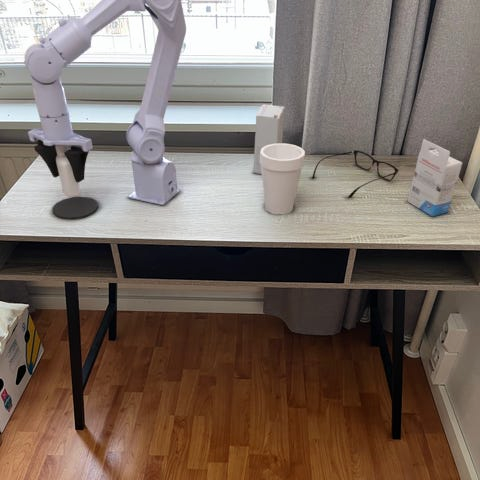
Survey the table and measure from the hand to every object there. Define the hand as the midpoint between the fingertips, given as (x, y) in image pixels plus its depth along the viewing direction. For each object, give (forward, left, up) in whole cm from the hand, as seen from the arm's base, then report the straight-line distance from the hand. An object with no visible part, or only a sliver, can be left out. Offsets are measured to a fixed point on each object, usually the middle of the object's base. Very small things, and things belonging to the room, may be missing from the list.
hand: (68, 178), depth 108 cm
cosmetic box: (-32, -38, -8) cm, 50 cm away
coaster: (0, 0, -7) cm, 7 cm away
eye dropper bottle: (0, 0, -4) cm, 4 cm away
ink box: (-73, -33, -8) cm, 80 cm away
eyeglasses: (-54, -40, -8) cm, 68 cm away
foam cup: (-42, -19, -8) cm, 47 cm away
